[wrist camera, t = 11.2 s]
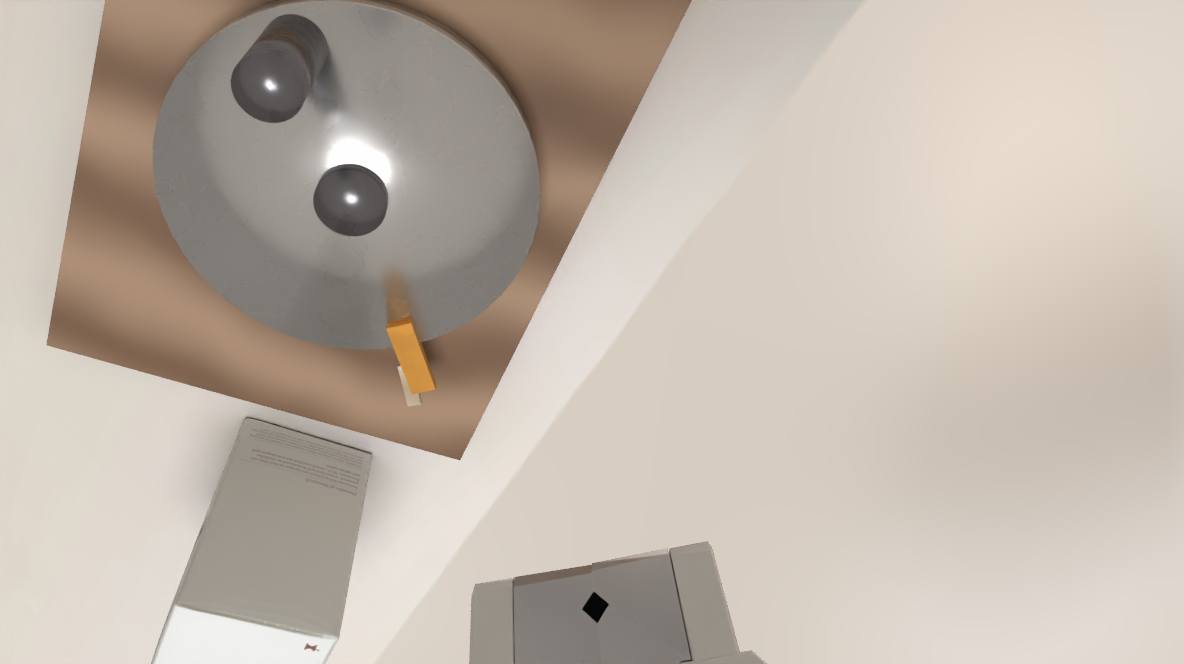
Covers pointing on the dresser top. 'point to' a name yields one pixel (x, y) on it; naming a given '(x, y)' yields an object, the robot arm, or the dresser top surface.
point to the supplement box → (270, 554)
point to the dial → (348, 174)
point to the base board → (277, 360)
